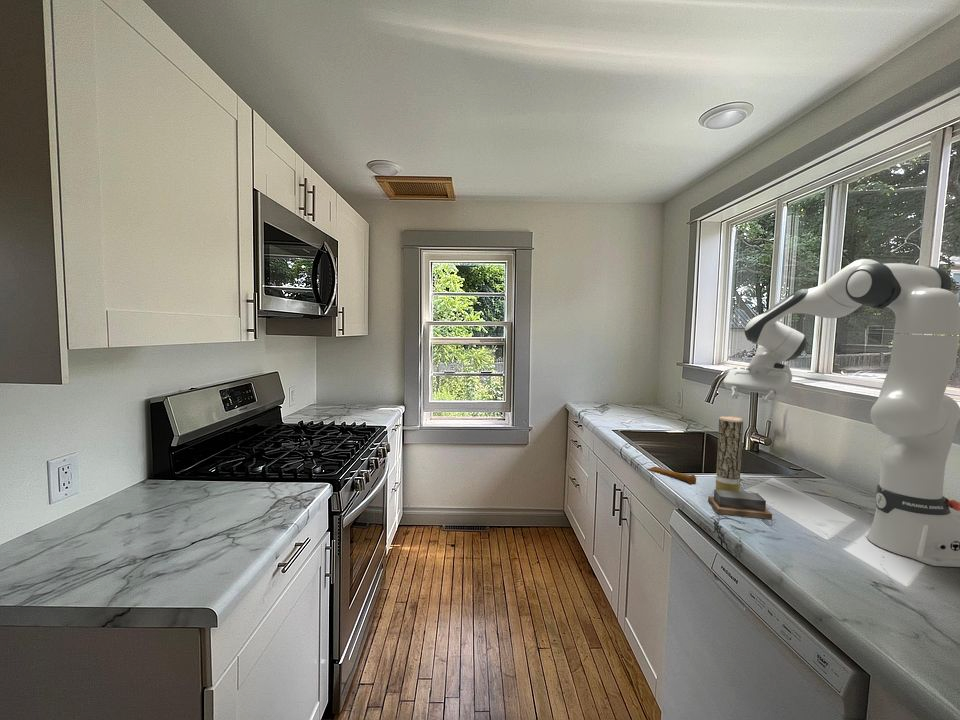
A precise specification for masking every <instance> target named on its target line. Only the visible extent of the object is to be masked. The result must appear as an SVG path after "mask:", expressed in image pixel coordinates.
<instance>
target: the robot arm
mask: <svg viewBox="0 0 960 720" xmlns="http://www.w3.org/2000/svg"><path fill="white" fill-rule="evenodd" d="M951 288H952V279H951V276H950V275H949V273H948V272H947V271H945V270H943V269H941V268H940V267H939V268H938V267H937V266H936V267H935V266H931V265H917V264H909V263H904V262H903V263H901V262H896V263H895V262H893V263H892V262H891V263H890V262H889V263H880V262H879V261H877V260H873V259H871V258H870V259H868V258H861V259H857V260H854V261H852V262H851V263H849V264H848V265H846V266H845V267H843V268H842V269H840V270H839V271H837V272H835V273H834V274H833V275H831V277H830V278H829V279H827V281H825V282H824V283H822V284H820V285H817V286H814V287H810V288H800V289H798V290H796V291H795V292H792V293H791V294H790V295H788V296H787V297H784V298H783V299H782V300H781V301H779V302H777V303H776V304H774V305H773V306H772V307H770V308H768V309H767V310H764V312H762V313H759V314H757V315H755V316H754V317H752V318H751V319H750V320H749V321H748V322H747V324H746V325H745V327H744V329H743V332H744V335H745V336H744V337H745V338H746V340H747V341H749V342H752V343H753V344H756V345H758V346H757V348H756V349H755V355H754V356H753V357H752V358H751V360H750V362H749V365H748V367H747V368H745V367H734V368H731V369H729V370H728V373H727V374H726V376H725V377H724V379H723V381H722V383H723V385H724V387H725V388H726V389H727V390H731V391H732V393H731V394H730V395H731V396H730V397H731V399H735V400H737V399H738V398H739V394H738V391H741V392H742V391H744V392H752V393H757V394H760V393H761V394H766V395H762V397H761V398H760V399H761V403H764V404H768V402H769V401H770V400H771V399H773V398H775V396H782V397H783V396H785V397H786V396H788V395H789V394H790V393H791V390H792V387H793V383H792V380H793V374H792V370H791V369H790V366H789V365H788V364H784V363H782V362H789V361H792V360H794V359H797V358H799V356H801V355H802V353H803V352H804V350H805V348H806V346H807V337H806V335H805V333H804V334H803V333H802V332H801V331H798V330H796V329H795V328H792V327H791V326H788V325H786V324H784V323H782V322H780V320H782V319H783V318H785V317H786V316H788V315H791V314H804V315H805V314H806V315H811V316H816V317H820V318H823V319H839V318H843V317H846V316H848V315H850V314H853V312H854V311H856V310H858V309H859V308H860V307H862V306H863V305H864V306H867V307H871V308H874V309H877V310H883V309H885V308H888V309H890V310H891V311H892V312H893V314H894V316H895V323H894V327H893V328H894V330H893V336H892V343H891V353H890V361H889V362H890V363H889V366H888V370H887V373H886V375H885V378H884V380H883V383H882V386H881V389H880V392H879V395H878V398H877V399H876V402H874V404H873V405H872V407H871V410H870V413H869V415H870V420H871V422H872V423H873V425H874V427H875V428H876V429H877V430H878V431H880V432H882V433H883V434H885V435H888V436H889V439H888V442H887V445H886V447H885V449H884V451H883V452H882V454H881V456H880V457H881V458H880V459H881V460H880V469H879V471H880V472H879V484H877V485H876V491H875V492H876V493H875V508H876V509H875V513H874V516H873V521H872V524H871V526H870V529H869V530H868V533H867V534H866V538H867V540H868V541H870V542H871V543H872V544H874V545H875V546H877V547H880V548H881V549H884V550H886V551H889V552H891V553H894V554H897V555H900V556H903V557H906V558H907V557H908V558H911V559H914V560H916V561H919V562H921V563H924V564H927V565H929V566H934V567H952V568H953V567H954V568H960V519H959V518H958V517H957V516H955V514H952V513H951V510H950V508H951V509H952V510H954V511H957V512H960V501H959V502H958V501H957V500H954V499H951V500H950V499H949V498H947V497H945V496H943V495H944V494H943V492H944V483H945V471H946V464H947V460H948V458H949V457H948V456H949V454H950V451H951V447H952V444H953V442H954V437H955V432H956V429H957V426H958V425H957V424H958V422H959V421H960V406H959V404H958V402H957V401H956V400H954V399H953V398H952V397H950V396H948V395H946V394H945V392H946V390H947V387H948V383H949V382H950V380H951V377H952V374H953V373H955V371H956V368H957V367H956V366H957V357H958V351H959V350H958V349H959V342H960V303H959V302H960V301H959V298H958V296H957V295H956V293H954V292H953V291H951V290H952V289H951Z"/></svg>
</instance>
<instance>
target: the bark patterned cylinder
mask: <svg viewBox="0 0 960 720" xmlns="http://www.w3.org/2000/svg"><path fill="white" fill-rule="evenodd" d="M743 430H744V419H743V418H741V417H736V416H729V415H727V416H719V419H718V435H717V436H718V437H717V455H716V456H717V457H716V474H715V475H716V476H715V477H716V478H715V490H726V491H737V492H740V490H741V489H740V485H741V469H742V468H741V467H742V452H743V451H742V449H743V432H744V431H743Z"/></svg>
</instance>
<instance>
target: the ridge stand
mask: <svg viewBox="0 0 960 720" xmlns="http://www.w3.org/2000/svg"><path fill="white" fill-rule="evenodd" d="M707 501H708V503H709V502H710V503H709V504H710V505H711V507H712V508H713V509H714V511H715V512H716V513H718V515H725V514H726V516H734V515H737V517H744V516H746V517H745V518H754V517H755V519H763V518H764V519H763V520H772V519H773V513H771V512H770V510H769V509H768V508H767V500H765V498H763V496H762V495H760V494H759V493H757V492H746V491H739V492H737V491H726V490H716V488H715V489H714V490H713V496H708V499H707Z"/></svg>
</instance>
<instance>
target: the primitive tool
mask: <svg viewBox="0 0 960 720" xmlns="http://www.w3.org/2000/svg"><path fill="white" fill-rule="evenodd" d="M646 471H650V472H653V473H657V474H659V473H660V475H663V476H666V475H667V476H666V477H669V476H670V478H672V477H673V479H676V480H680V481H682V480H683V481H684V482H686V483H688V484H689V485H695V484H696V483H697V478H696V475H695V474H691V475H690V474H686V473H682V472H677V471H672V470H668V469H666V468H665V469H664V468H662V467H659V466H651V467H649V468H646Z"/></svg>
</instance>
